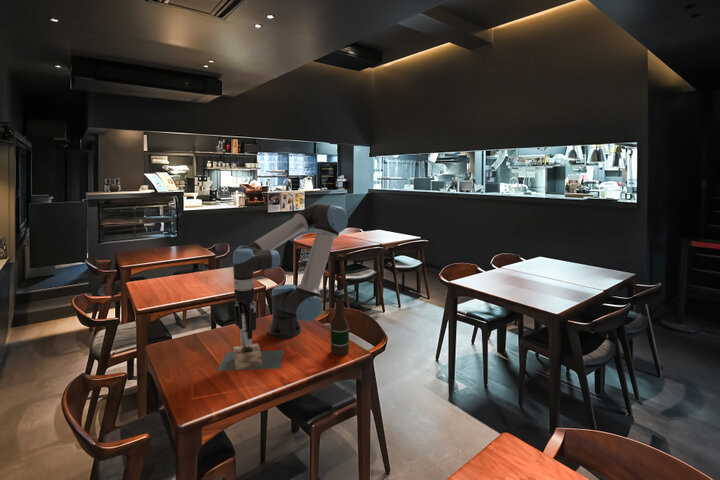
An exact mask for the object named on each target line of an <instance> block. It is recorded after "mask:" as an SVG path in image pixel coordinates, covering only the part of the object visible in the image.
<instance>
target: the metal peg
mask: <svg viewBox="0 0 720 480" xmlns="http://www.w3.org/2000/svg"><path fill="white" fill-rule="evenodd" d="M245 330H246V325H245V316H244V315H243V313H242V334H243V345H242V346H243V353H247V352H250V346H249V347H245Z"/></svg>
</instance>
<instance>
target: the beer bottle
mask: <svg viewBox="0 0 720 480" xmlns="http://www.w3.org/2000/svg"><path fill="white" fill-rule="evenodd" d="M334 313H335V315H334V317H333V318H332V320H331V322H330V352H331V353H332V355H333V356H337V355H338V357H342V356H347V354H349V352H350V351H349V350H350V323H349V322H348V319H347V318H346V315H345V299H344V298H343V297H337V298H335V312H334ZM341 355H342V356H341Z"/></svg>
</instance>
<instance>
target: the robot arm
mask: <svg viewBox="0 0 720 480" xmlns="http://www.w3.org/2000/svg"><path fill="white" fill-rule="evenodd" d="M348 219H349V218H348V214H347V211H346V210H345V209H344V208H343V207H342V206H339V205H334V204H330V205H329V204H321V203H320V204H319V203H318V204H312V205H309V206H307V207H306V208H304V209H302V210H300V211H298V212H297V213H295V214H294V215H293V217H292V218H291V219H289V220H287V221H285V222H284V223H283V224H281V225H279V226H277V227H276V228H274V229H272V230H271V231H269V232H268V233H266V234H264V235H263V236H261V237H259V238H258V239H256V240H254V241H253V242H251V243H250V244H248V245H239V246H238V247H236V249H234V251H233V252H232V266H233V267H232V268H233V269H232V270H233V288H234V291H233V293H234V299H235V301H233V302H232V305H233V310H234V311H233V312H234V320H235V326H236V327H238V329H239V335H240V336H239V338H240V346H243V334H242V313H243V315H244V316H245V325H246V330H245V347H249V346H251V345H252V344H253V332H254V331H255V330H257V312H258V309H259V308H258V307H257V306H254V302H253V299H254V298H255V288H254V287H255V276H254V274H255V272H259V271H266V270H273V269H274V268H278V267H279V266H280V264H281V255H280V253H279V251H277V250H276V249H277V248H279V247H280V246H282V245H283V244H284V243H286V242H288V241H289V240H291V239H293V238H294V237H295V236H297V235H299V234H300V233H302V232H304V233H305V232H307V231H309V230H311V229H312V230H313V231H314V233H315V236H314V239H313V243H312V247H311V249H310V252H309V256H308V259H307V261H306V265H305V269H304V272H303V275H302V277H301V281H300V284H298V285H295V284H289V283H288V284H282V285H278V286H275V287H274V288H272V290H271V304H272V305H271V308H272V309H271V310H272V311H271V312H272V320H271V322H270V325H269V330H268V332H269V336H271V337H272V338H276V339H291V338H294V337H297V336H299V335H300V334H301V333H302V325H301V322H300V321H304V322H311V321H314V319H316V318H317V317H319V315H320V314H321V312H322V309H323V303H322V300H321V298H320V297H321V292H320V286H321V282H322V280H323V276H324V272H325V269H326V267H327V263H328V259H329V258H330V257H329V256H330V252H331V249H332V246H333V244H334V241H335V240H336V239H337V238H338V237H339V235H340V233H341V232H343V231H344V230H346V228H347V227H348V223H349V222H348V221H349V220H348Z"/></svg>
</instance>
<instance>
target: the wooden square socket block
mask: <svg viewBox="0 0 720 480" xmlns="http://www.w3.org/2000/svg"><path fill="white" fill-rule="evenodd" d="M232 348H233V349H232V352H233V353H234V363H235V370H234V371H237V370H236V369H242V368H248V367H254V366H260V365H262V359H261V351H262V350H261V348H260V345H259V343H252V345H251V346H250V352H247V353H243V345H237V346H233V347H232Z"/></svg>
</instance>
